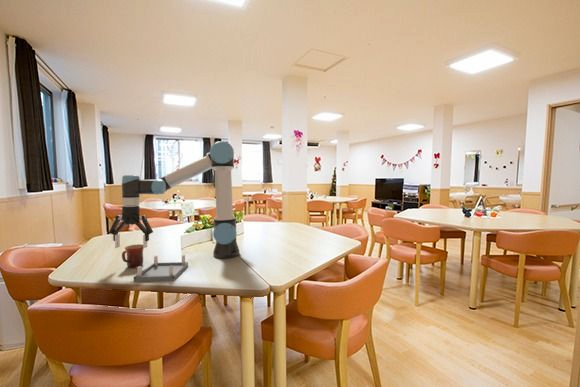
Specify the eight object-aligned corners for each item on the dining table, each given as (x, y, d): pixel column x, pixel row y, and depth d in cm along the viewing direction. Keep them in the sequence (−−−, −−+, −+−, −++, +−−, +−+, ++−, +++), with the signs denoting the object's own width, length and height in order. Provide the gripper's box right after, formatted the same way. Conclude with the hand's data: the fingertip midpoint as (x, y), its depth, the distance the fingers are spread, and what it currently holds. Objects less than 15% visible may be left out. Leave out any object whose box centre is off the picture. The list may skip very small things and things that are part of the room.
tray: (188, 265, 135) (187, 254, 135) (173, 280, 116) (173, 267, 115) (154, 266, 134) (153, 255, 134) (133, 281, 114) (133, 268, 114)
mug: (134, 262, 140) (134, 244, 140) (148, 263, 138) (148, 244, 138) (115, 270, 128) (114, 249, 128) (130, 271, 127) (130, 250, 126)
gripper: (159, 205, 136) (159, 245, 137) (109, 204, 135) (110, 245, 136) (153, 206, 129) (153, 249, 130) (100, 206, 127) (100, 249, 128)
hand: (131, 247), depth 133 cm, fingers open, 13 cm apart
